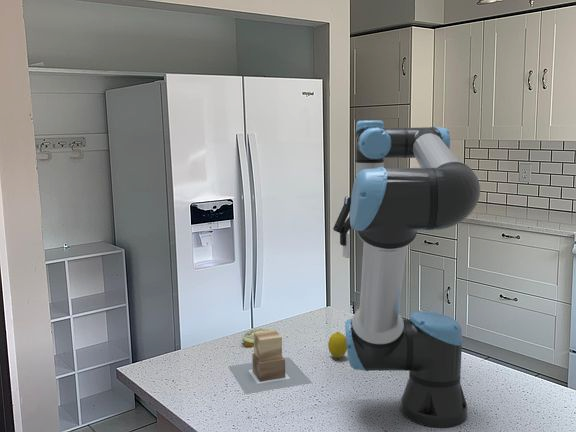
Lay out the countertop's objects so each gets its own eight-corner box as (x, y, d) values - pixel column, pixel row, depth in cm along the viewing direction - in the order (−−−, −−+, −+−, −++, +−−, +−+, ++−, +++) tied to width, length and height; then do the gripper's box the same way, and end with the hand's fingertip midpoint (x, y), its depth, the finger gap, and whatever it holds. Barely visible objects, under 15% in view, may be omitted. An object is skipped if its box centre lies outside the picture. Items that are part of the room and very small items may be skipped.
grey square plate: (312, 387, 149) (312, 382, 149) (245, 398, 143) (245, 394, 143) (289, 361, 166) (289, 357, 166) (228, 370, 160) (228, 366, 160)
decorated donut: (235, 345, 179) (235, 333, 178) (259, 335, 187) (259, 324, 186) (260, 353, 172) (260, 341, 172) (283, 343, 180) (283, 331, 180)
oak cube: (282, 358, 152) (281, 337, 151) (260, 361, 150) (259, 339, 149) (275, 350, 158) (274, 329, 157) (254, 353, 156) (253, 332, 155)
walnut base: (285, 377, 152) (285, 359, 151) (260, 381, 150) (259, 363, 149) (277, 367, 159) (276, 350, 158) (252, 371, 156) (252, 353, 156)
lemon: (347, 354, 170) (347, 328, 169) (347, 362, 165) (347, 335, 163) (328, 354, 171) (328, 328, 169) (328, 361, 165) (328, 335, 164)
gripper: (402, 175, 163) (401, 248, 166) (321, 178, 154) (321, 256, 158) (417, 177, 156) (415, 254, 159) (332, 181, 147) (332, 261, 151)
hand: (368, 255), depth 158 cm, fingers open, 13 cm apart
